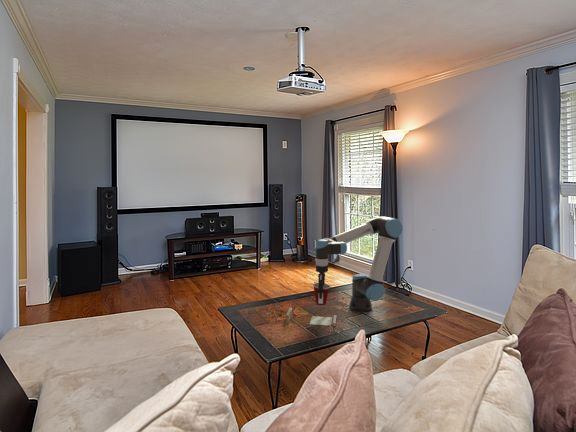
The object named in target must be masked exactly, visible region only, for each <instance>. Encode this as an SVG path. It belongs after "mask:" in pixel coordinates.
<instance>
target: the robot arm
mask: <svg viewBox="0 0 576 432" xmlns="http://www.w3.org/2000/svg"><path fill="white" fill-rule="evenodd" d="M402 224H403V223H401V221H400V220H399V219H397V218H396V217H395V218H394V217H388V216H385V215H383V216H382V215H381V216H377V217H374V218H372V219H369V220H367V221H365V223H363V224H361V225H359V226H356V227H353V228H351V229H348V230H347V231H344V232H342V233H341V232H340V233H339V234H336V235H334V236H332V237H329V238H328V237H324V238H322V239H321V238H320V239H317V240H316V242H315V259H314V262H315V272H317V273H318V277H317V278H318V281H317V282H318V283H319V287H318V292H317V293H319V294H318V303H319V304H323V286H324V284H326V283H325V282H326V273H327V272H329V256H333V255H344V254H347V251H348V246H347V244H349V243H352V242H353V241H356V240H359V239H361V238H363V237H365V236H369V235H370V236H372V235H374V234H375V235H376V234H377V236H378V239H379V240H378V241H377V242H378V243H377V246H376V248H375V249H376V250H375V254H374V256H373V259H372V260H373V261H372V263H371V267H370V270H369V274H367V273H357V274H354V275H352V278H351V279H352V281H351V283H352V285H351V289H352V290H351V291H352V292H351V298H350V301H349V306H348V307H349V309H350V310H352V311H355V312H369V311H371V310H373V305H372V301H374V302H376V301H379V300H381V299H383V297H384V295H385V293H386V289H385V287H384V283H385V281H384V279H383V278H384V274H385V270H386V268H387V263H388V260H389V256H390V253H391V249H392V245H393V243H394V242H396V241H397V238H398V237H399V236H401V235H402V233H403V229H404V228H403V225H402Z"/></svg>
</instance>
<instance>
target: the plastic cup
mask: <svg viewBox="0 0 576 432" xmlns="http://www.w3.org/2000/svg"><path fill="white" fill-rule="evenodd" d="M312 286H313V292H314V298H315V303H316V305H318V306H325V305H326V303H327V299H328V294H329V291H330V288H331V285H330V284H327V283H325V284H324V286H323V304H319V303H318V294H319V293H317V292H318V287H319V282H314V283H313V284H312Z"/></svg>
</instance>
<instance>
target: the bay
mask: <svg viewBox="0 0 576 432" xmlns="http://www.w3.org/2000/svg"><path fill="white" fill-rule="evenodd" d="M292 316H293V307H289V308H288V311H287V312H286V314H285V323H286V324H289V323H290V321H291V319H292ZM336 324H337V314H334V315H333V317H332V316H319V315H318V316H316V315H314V316H313V315H312V316H311V319H310V321H309V325H310V326H311V325H312V326H322V327H323V326H324V327H326V326H327V327H331V326H332V327H336Z"/></svg>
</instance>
